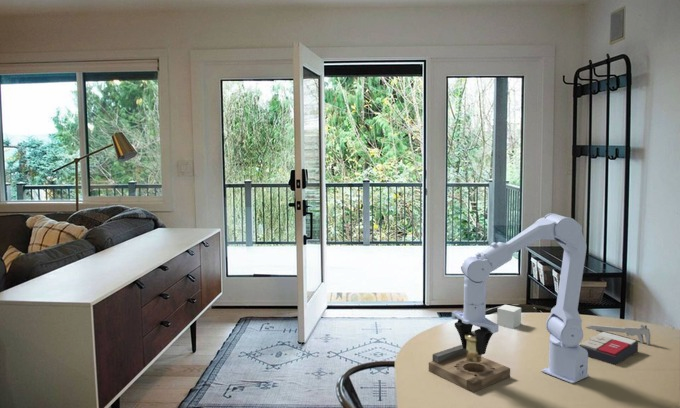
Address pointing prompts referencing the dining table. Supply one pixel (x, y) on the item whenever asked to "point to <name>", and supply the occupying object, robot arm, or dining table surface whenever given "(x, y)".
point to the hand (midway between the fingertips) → (473, 350)
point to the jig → (467, 369)
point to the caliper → (626, 331)
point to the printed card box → (610, 348)
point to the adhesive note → (509, 316)
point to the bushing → (472, 347)
